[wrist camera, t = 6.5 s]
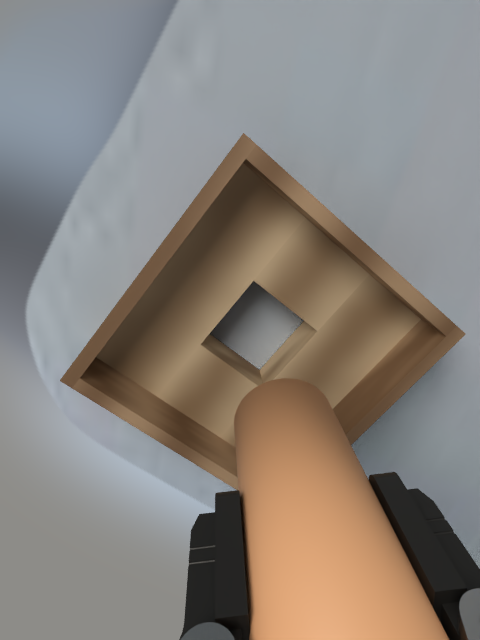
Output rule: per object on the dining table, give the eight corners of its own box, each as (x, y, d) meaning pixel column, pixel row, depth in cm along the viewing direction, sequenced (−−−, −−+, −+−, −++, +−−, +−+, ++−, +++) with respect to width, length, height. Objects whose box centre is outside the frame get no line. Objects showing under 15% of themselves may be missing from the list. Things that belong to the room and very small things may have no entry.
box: (416, 304, 28) (465, 334, 22) (268, 456, 32) (278, 515, 26) (238, 145, 24) (243, 132, 18) (92, 341, 28) (59, 380, 22)
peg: (352, 414, 16) (692, 1000, 4) (287, 478, 17) (433, 1101, 5) (279, 359, 15) (480, 938, 3) (213, 430, 16) (204, 1071, 4)
